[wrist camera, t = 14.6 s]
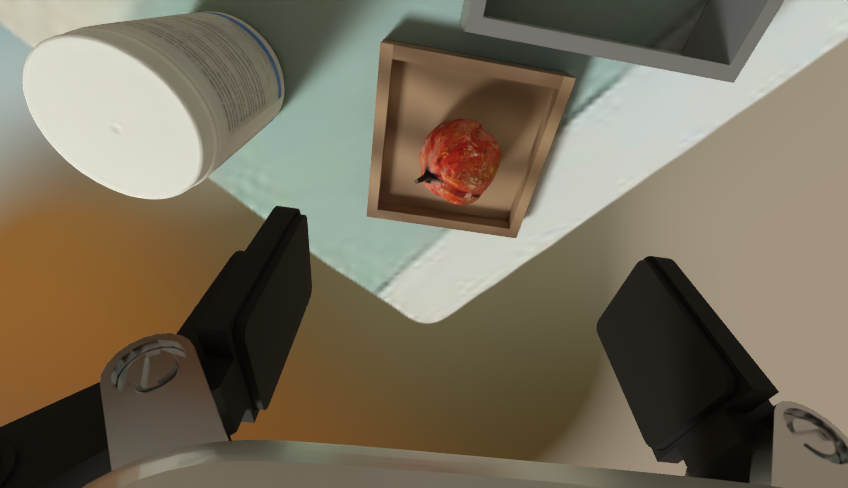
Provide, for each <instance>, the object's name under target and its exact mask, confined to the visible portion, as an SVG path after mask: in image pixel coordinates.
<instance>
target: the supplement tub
mask: <svg viewBox="0 0 848 488" xmlns="http://www.w3.org/2000/svg"><path fill="white" fill-rule="evenodd" d="M22 81H23V91H24V95H25V99H26V101H27V105H28V108H29V110H30V112H31V114H32V117H33V119H34V121H35V122H36V124H37V126H38V127H39V129H40V130H41V131H42V133H43V135H44V136H45V137H46V138H47V140H48V141H49V142H50V144H51V145H52V146H53V147H54V148H55V149H56V150H57V151H58V153H60V154H61V155H62V156H63V157H64V158H65V159H66V160H67V161H68V162H69V163H70V164H72V165H73V166H74V167H75V168H77V169H78V170H79V171H81V172H82V173H84V174H85V175H86V176H88V177H90V178H91V179H93V180H94V181H96V182H98V183H100V184H102V185H104V186H106V187H108V188H110V189H112V190H115V191H117V192H120V193H123V194H126V195H129V196H133V197H138V198H145V199H164V198H170V197H174V196H177V195H179V194H181V193H183V192H185V191H187V190H188V189H189V188H191V187H193V186H195V185H197V184H199V183H200V182H202V181H203V180H204V179H205V178H206V177H208V176H209V175H210V174H211V173H212V172H214V171H215V170H216V169H217V168H218V167H220V166H221V165H222V164H223V163H224V162H225V161H226V160H228V159H229V158H230V157H231V156H232V155H233V154H235V153H236V152H237V151H238V150H239V149H240V148H241V147H243V146H244V145H245V144H246V143H247V142H248V141H250V140H251V139H252V138H253V137H254V136H255V135H256V134H258V133H259V132H260V131H261V130H262V129H263V128H264V127H266V126H267V125H268V124H269V123H270V122H271V121H272V120H273V119H274V118H275V117H276V116H277V114H278V113H279V111H280V109H281V106H282V103H283V99H284V79H283V74H282V70H281V67H280V64H279V61H278V59H277V57H276V55H275V53H274V52H273V50H272V48H271V47H270V46H269V44H268V43H267V42H266V40H265V39H264V38H263V37H262V36H261V35H260V34H259V33H258V32H257V31H256V30H255V29H254V28H252V27H251V26H250V25H248V24H247V23H245V22H244V21H242V20H240V19H238V18H236V17H234V16H231V15H228V14H225V13H221V12H214V11H205V12H196V13H188V14H180V15H172V16H164V17H156V18H148V19H141V20H132V21H124V22H116V23H109V24H102V25H95V26H88V27H83V28H79V29H76V30H73V31H70V32H67V33H64V34H61V35H57V36H53V37H51V38H48V39H46V40H44V41H42V42H40V43H39V44H38V45H37V46H35V47H34V48H33V49H32V51H31V52H30V54H29V55H28V57H27V59H26V61H25V64H24V68H23V75H22Z"/></svg>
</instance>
